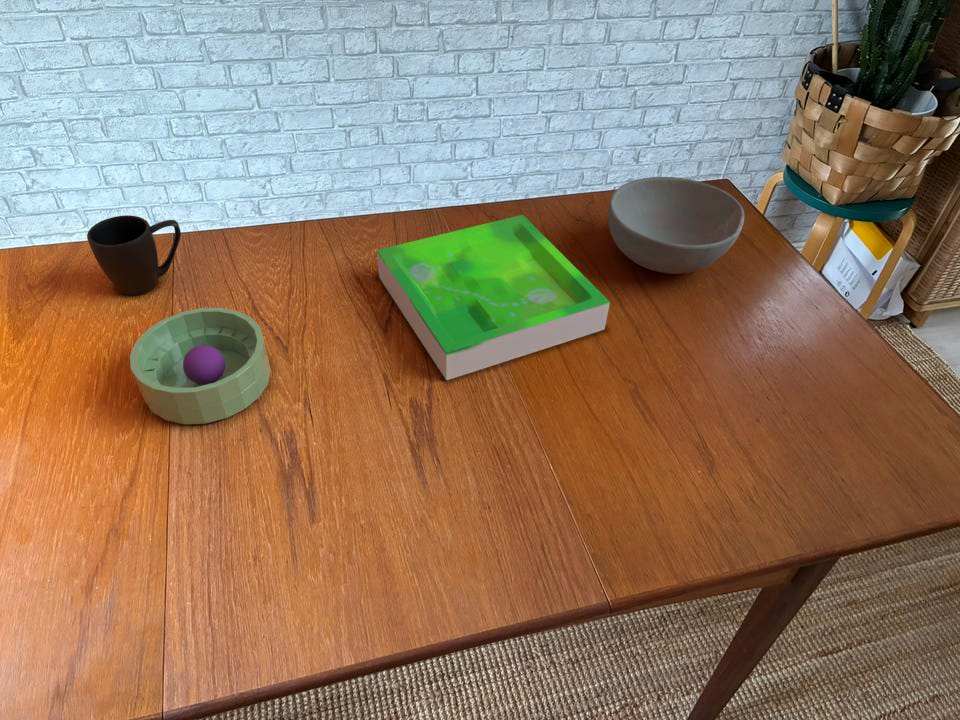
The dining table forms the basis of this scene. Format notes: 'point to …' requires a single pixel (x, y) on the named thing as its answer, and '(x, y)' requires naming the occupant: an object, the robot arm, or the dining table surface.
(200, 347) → the ball
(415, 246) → the tray
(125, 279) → the mug
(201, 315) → the green bowl
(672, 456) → the dining table surface
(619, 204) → the bowl
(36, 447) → the dining table surface
